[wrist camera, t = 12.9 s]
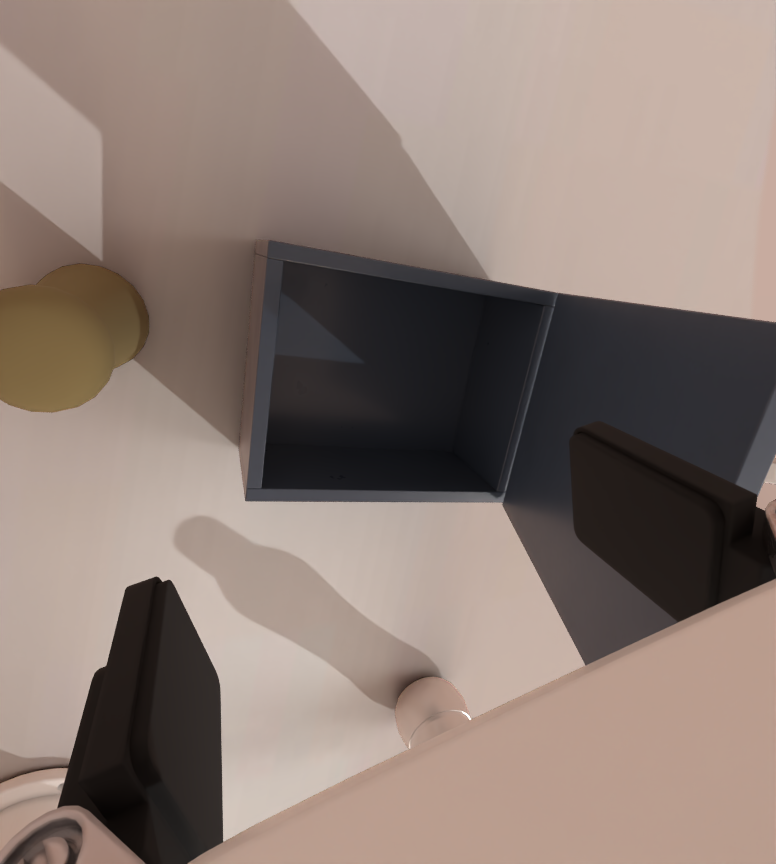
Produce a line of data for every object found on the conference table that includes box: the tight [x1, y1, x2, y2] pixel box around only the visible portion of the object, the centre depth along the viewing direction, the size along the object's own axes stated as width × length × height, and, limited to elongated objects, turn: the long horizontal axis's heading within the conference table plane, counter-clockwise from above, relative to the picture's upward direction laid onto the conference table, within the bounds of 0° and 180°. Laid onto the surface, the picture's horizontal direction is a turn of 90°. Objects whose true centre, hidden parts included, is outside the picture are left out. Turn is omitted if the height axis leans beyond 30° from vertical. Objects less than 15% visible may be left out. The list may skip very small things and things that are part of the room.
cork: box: [0, 264, 149, 412], centre depth 24 cm, size 6×6×11 cm
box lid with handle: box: [502, 293, 776, 665], centre depth 23 cm, size 17×14×6 cm
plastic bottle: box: [395, 677, 471, 749], centre depth 40 cm, size 6×7×20 cm
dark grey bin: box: [239, 240, 558, 503], centre depth 32 cm, size 17×14×8 cm
